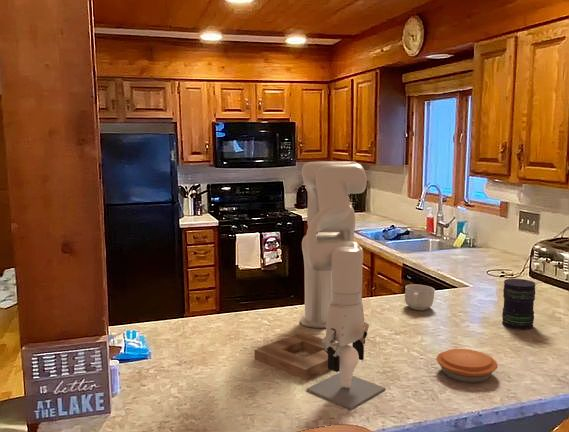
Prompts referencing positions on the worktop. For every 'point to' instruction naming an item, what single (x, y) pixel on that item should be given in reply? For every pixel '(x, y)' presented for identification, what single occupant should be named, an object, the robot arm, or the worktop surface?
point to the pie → (466, 365)
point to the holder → (287, 360)
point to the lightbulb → (347, 364)
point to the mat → (346, 391)
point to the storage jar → (518, 304)
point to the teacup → (419, 296)
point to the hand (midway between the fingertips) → (346, 364)
